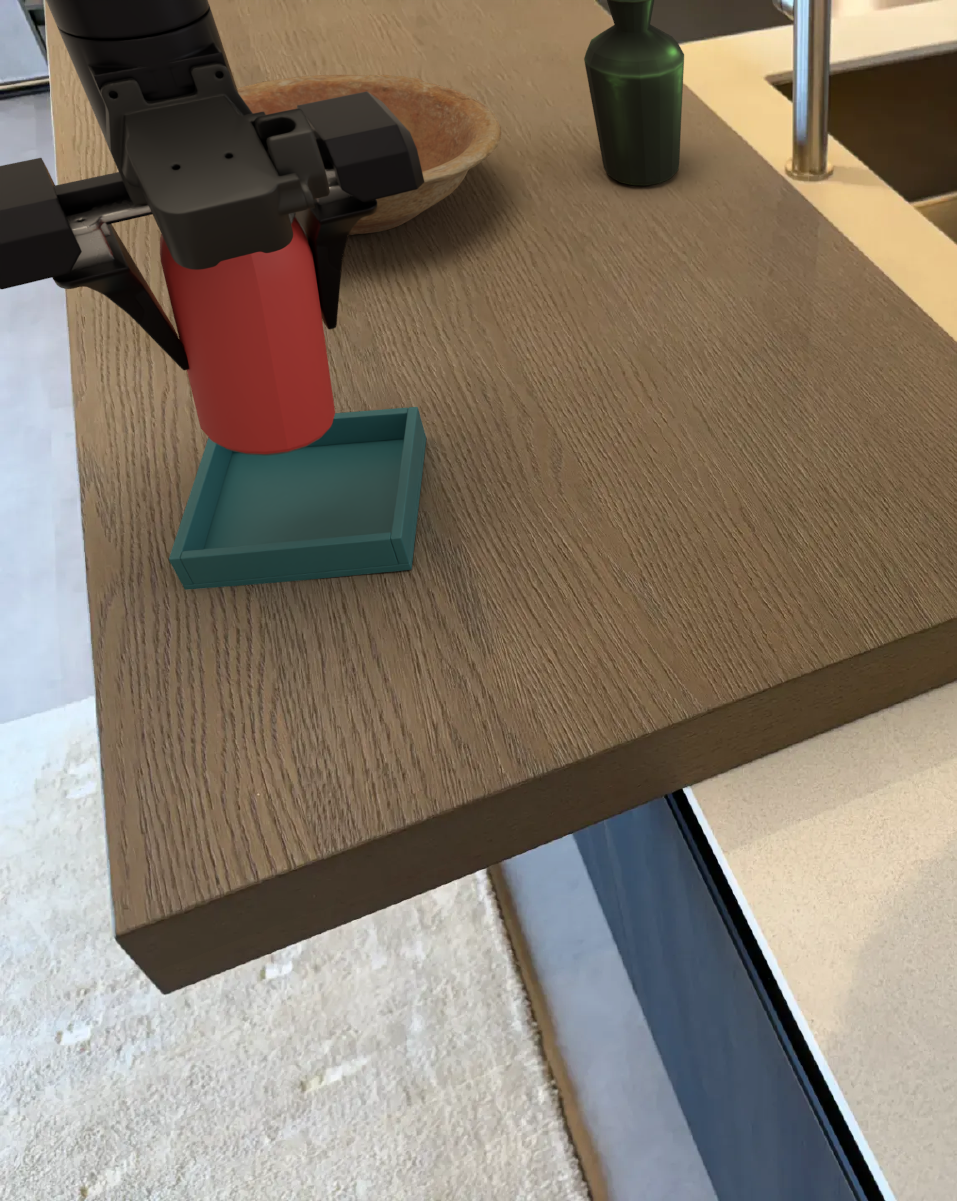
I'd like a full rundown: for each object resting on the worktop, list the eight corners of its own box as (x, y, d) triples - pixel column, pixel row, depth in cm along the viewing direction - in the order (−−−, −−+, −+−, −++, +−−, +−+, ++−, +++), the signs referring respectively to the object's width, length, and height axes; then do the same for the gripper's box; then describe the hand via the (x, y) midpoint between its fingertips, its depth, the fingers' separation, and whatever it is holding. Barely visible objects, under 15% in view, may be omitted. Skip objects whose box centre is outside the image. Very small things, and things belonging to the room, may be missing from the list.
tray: (185, 592, 63) (167, 559, 61) (227, 454, 71) (212, 422, 69) (411, 570, 64) (401, 537, 62) (426, 437, 73) (417, 406, 71)
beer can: (283, 476, 57) (241, 255, 49) (171, 436, 58) (113, 213, 50) (362, 414, 62) (336, 203, 54) (258, 377, 63) (217, 165, 55)
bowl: (549, 250, 90) (536, 152, 84) (231, 316, 82) (193, 212, 76) (466, 130, 104) (450, 39, 98) (189, 176, 96) (154, 80, 90)
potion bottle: (706, 177, 98) (700, -53, 85) (622, 199, 95) (604, -36, 82) (659, 141, 103) (647, -82, 90) (578, 161, 99) (553, -68, 87)
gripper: (-119, 139, 38) (85, 497, 49) (427, 36, 45) (495, 369, 56) (-138, 32, 44) (46, 370, 55) (341, -43, 51) (418, 269, 62)
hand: (259, 345), depth 57 cm, fingers closed on beer can, 7 cm apart
